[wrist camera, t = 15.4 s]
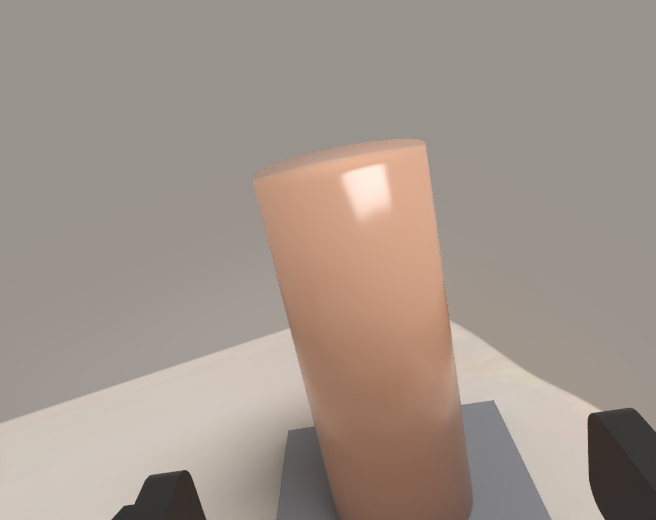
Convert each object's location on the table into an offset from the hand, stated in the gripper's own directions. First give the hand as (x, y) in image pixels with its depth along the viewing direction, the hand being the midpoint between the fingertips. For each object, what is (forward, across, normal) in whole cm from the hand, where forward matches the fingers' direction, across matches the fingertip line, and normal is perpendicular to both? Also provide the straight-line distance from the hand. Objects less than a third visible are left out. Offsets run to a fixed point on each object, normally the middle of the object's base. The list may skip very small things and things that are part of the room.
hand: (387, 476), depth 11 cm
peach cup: (+12, 0, +11) cm, 17 cm away
